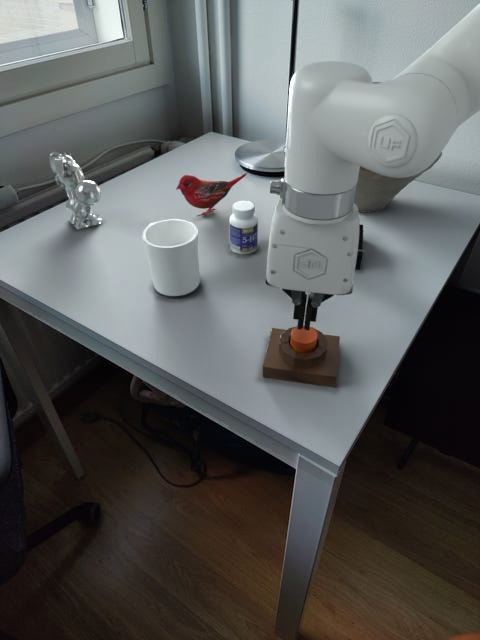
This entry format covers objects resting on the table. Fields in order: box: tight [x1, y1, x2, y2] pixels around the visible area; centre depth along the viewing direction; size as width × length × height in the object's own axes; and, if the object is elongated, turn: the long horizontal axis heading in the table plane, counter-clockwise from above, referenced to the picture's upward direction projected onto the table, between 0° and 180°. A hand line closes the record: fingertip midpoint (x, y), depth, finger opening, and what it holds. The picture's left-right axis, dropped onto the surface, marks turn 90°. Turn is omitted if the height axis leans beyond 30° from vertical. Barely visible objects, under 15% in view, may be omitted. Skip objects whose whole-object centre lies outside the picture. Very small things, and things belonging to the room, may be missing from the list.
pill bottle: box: [229, 200, 259, 255], centre depth 86 cm, size 5×5×9 cm
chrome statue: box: [48, 151, 103, 230], centre depth 92 cm, size 15×6×15 cm, turn 39°
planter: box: [354, 81, 443, 213], centre depth 94 cm, size 25×24×22 cm
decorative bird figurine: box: [175, 173, 248, 217], centre depth 97 cm, size 3×18×10 cm, turn 127°
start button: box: [290, 325, 318, 353], centre depth 63 cm, size 4×4×2 cm
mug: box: [141, 218, 201, 299], centre depth 78 cm, size 11×9×10 cm
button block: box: [262, 325, 341, 388], centre depth 65 cm, size 10×8×4 cm
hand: (304, 322), depth 61 cm, fingers closed
